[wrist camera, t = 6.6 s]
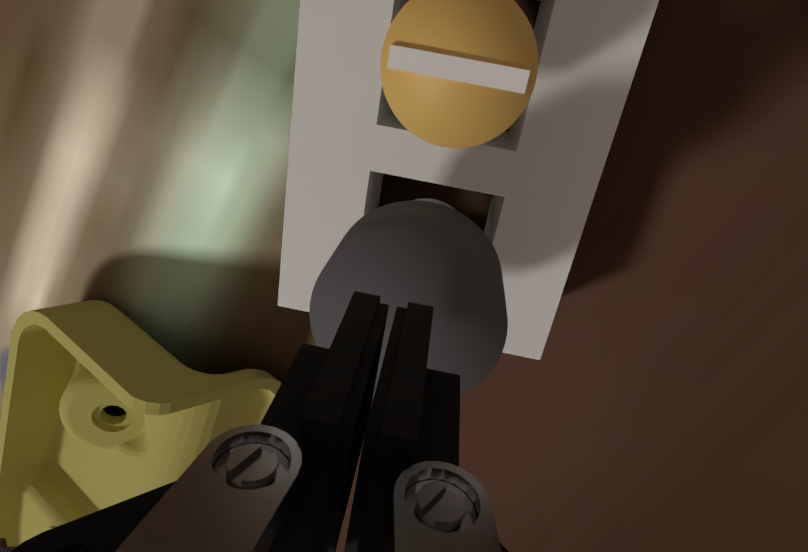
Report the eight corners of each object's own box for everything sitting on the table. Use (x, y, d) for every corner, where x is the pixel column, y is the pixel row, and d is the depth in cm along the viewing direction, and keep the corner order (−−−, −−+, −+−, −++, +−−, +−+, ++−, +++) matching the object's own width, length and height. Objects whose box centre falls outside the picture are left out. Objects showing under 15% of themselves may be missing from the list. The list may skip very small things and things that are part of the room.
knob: (512, 185, 18) (531, 253, 12) (479, 312, 20) (482, 422, 14) (367, 156, 18) (319, 211, 12) (349, 286, 20) (301, 384, 14)
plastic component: (17, 289, 23) (164, 428, 19) (168, 267, 30) (300, 367, 26) (-23, 593, 30) (79, 738, 26) (106, 521, 37) (202, 629, 33)
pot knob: (534, 8, 16) (559, -6, 11) (504, 130, 17) (515, 162, 13) (415, -14, 16) (392, -36, 11) (396, 109, 17) (369, 133, 13)
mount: (704, -262, 15) (777, -357, 12) (529, 310, 23) (540, 360, 20) (364, -317, 16) (332, -425, 12) (307, 264, 24) (277, 305, 20)
